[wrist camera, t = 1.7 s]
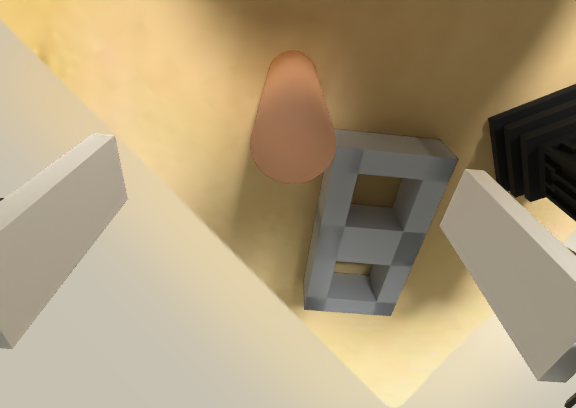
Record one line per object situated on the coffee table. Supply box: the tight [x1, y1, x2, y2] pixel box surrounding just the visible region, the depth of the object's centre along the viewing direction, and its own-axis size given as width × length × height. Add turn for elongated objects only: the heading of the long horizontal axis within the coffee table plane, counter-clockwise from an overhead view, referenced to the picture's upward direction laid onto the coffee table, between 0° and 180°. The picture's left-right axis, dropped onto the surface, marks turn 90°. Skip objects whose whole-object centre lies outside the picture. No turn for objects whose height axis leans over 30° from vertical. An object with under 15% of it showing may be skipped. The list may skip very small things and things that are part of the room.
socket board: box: [303, 129, 458, 316], centre depth 33 cm, size 20×10×4 cm, turn 174°
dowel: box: [250, 51, 336, 184], centre depth 21 cm, size 4×4×14 cm
